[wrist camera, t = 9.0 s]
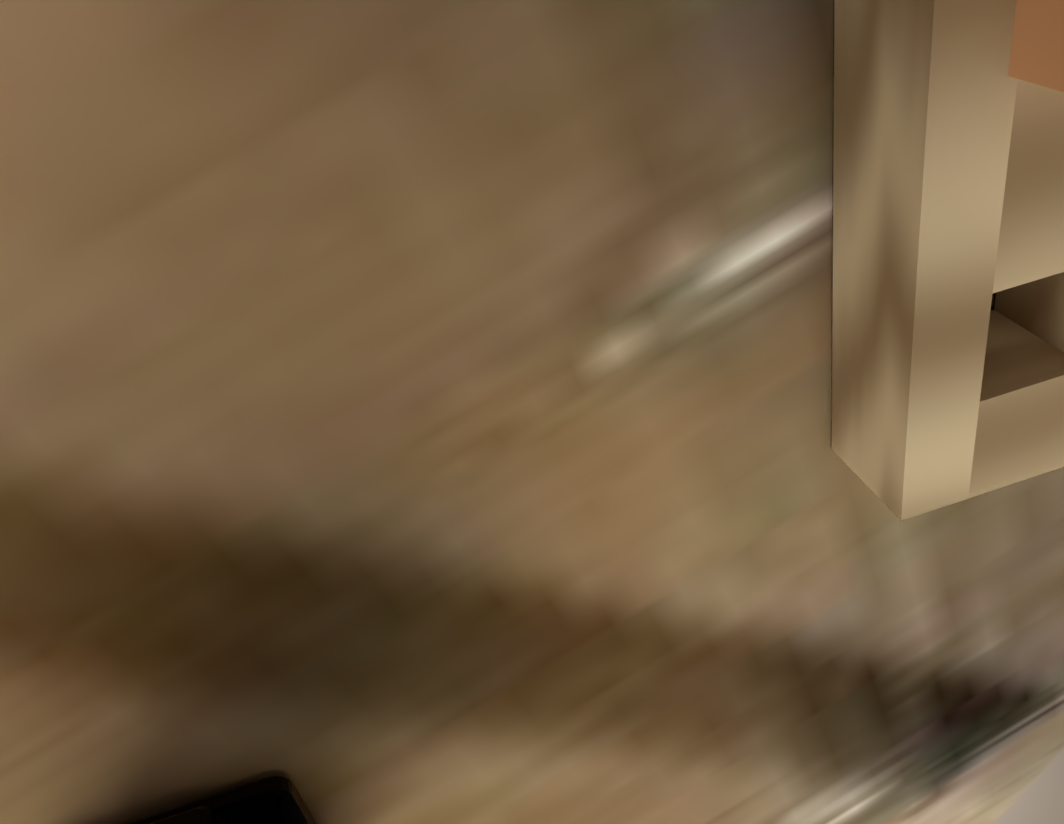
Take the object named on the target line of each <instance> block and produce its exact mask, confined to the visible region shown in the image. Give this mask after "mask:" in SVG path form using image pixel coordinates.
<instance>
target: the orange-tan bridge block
mask: <svg viewBox="0 0 1064 824" xmlns="http://www.w3.org/2000/svg"><path fill="white" fill-rule="evenodd" d="M1008 76H1009V77H1013V78H1016V79H1019V80H1023V81H1026V82H1030V83H1033V84H1036V85H1040V86H1043V87H1047V88H1050V89H1053V90H1057V91H1060V92H1064V0H1017V1H1016V10H1015V19H1014V28H1013V37H1012V46H1011V55H1010V64H1009V73H1008Z"/></svg>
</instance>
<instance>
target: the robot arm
mask: <svg viewBox="0 0 1064 824" xmlns="http://www.w3.org/2000/svg"><path fill="white" fill-rule="evenodd" d="M132 824H315V822H314V821H313V819H312V817H311V815H310V814H309V812H308V810H307V808H306V806H305V805H304V803H303V801H302V799H301V798H300V796H299V794H298V792H297V790H296V789H295V787H294V785H293V783H292V782H291V781H290V780H289V779H287V778H284V777H279V776H274V777H269V778H265V779H262V780H259V781H256V782H253V783H250V784H247V785H244V786H242V787H239V788H236V789H233V790H230V791H227V792H224V793H221V794H218V795H215V796H212V797H209V798H206V799H203V800H200V801H197V802H194V803H191V804H188V805H185V806H182V807H179V808H177V809H174V810H171V811H168V812H165V813H162V814H159V815H156V816H153V817H150V818H147V819H144V820H141V821H138V822H135V823H132Z"/></svg>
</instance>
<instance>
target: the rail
mask: <svg viewBox="0 0 1064 824" xmlns="http://www.w3.org/2000/svg"><path fill="white" fill-rule="evenodd" d="M1016 1H1017V0H834V152H833V315H832V450H833V451H834V452H835V453H836V454H837V455H838V456H839V457H840V458H841V459H842V460H843V461H844V462H845V463H846V464H847V465H848V466H849V467H850V468H851V470H852V471H853V472H854V473H855V474H856V475H857V476H858V477H859V478H860V479H861V480H862V481H863V482H864V483H865V484H866V485H867V486H868V487H869V488H870V489H871V490H872V491H873V492H874V493H875V494H876V495H877V496H878V497H879V498H880V499H881V501H882V502H883V503H884V504H885V505H886V506H887V507H888V508H889V509H890V510H891V511H892V512H893V513H894V514H895V515H896V516H897V517H898V518H899V519H900V520H901V521H902V520H905V519H908V518H911V517H914V516H917V515H920V514H923V513H926V512H929V511H932V510H935V509H938V508H941V507H944V506H947V505H950V504H953V503H956V502H959V501H962V500H965V499H968V498H971V497H974V496H977V495H980V494H983V493H986V492H989V491H992V490H995V489H998V488H1001V487H1004V486H1007V485H1010V484H1013V483H1016V482H1019V481H1022V480H1025V479H1028V478H1031V477H1034V476H1037V475H1040V474H1043V473H1046V472H1049V471H1052V470H1055V469H1058V468H1061V467H1064V92H1060V91H1057V90H1053V89H1050V88H1047V87H1043V86H1040V85H1036V84H1033V83H1030V82H1026V81H1023V80H1019V79H1016V78H1013V77H1009V76H1008V73H1009V64H1010V55H1011V46H1012V37H1013V28H1014V19H1015V10H1016ZM993 293H996V297H995V306H994V310H991V302H992V294H993ZM990 310H991V311H990Z"/></svg>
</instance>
